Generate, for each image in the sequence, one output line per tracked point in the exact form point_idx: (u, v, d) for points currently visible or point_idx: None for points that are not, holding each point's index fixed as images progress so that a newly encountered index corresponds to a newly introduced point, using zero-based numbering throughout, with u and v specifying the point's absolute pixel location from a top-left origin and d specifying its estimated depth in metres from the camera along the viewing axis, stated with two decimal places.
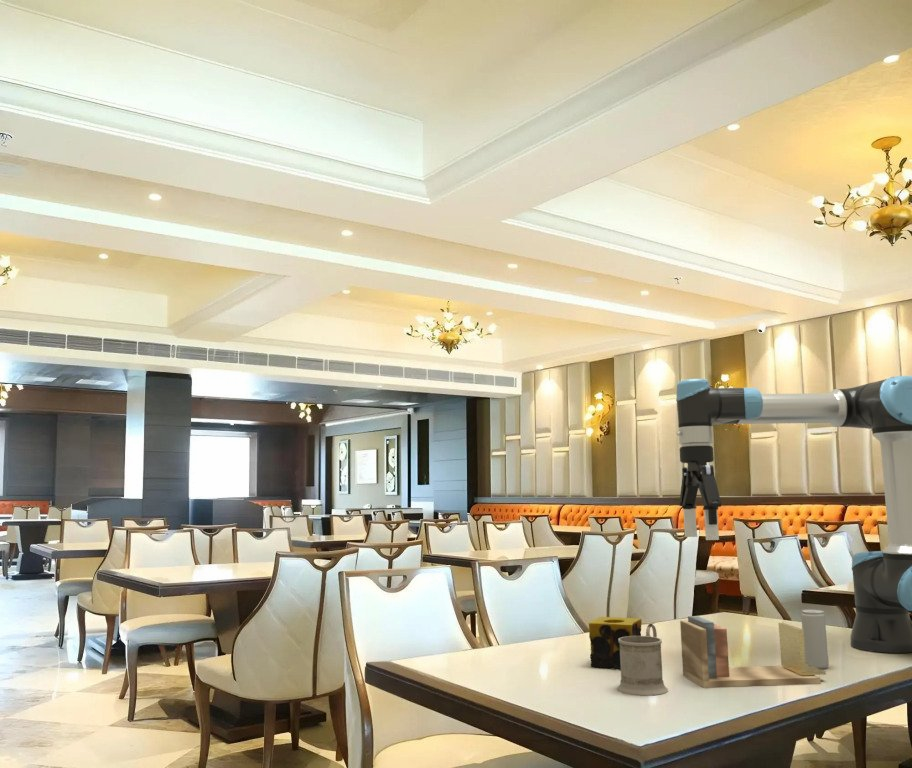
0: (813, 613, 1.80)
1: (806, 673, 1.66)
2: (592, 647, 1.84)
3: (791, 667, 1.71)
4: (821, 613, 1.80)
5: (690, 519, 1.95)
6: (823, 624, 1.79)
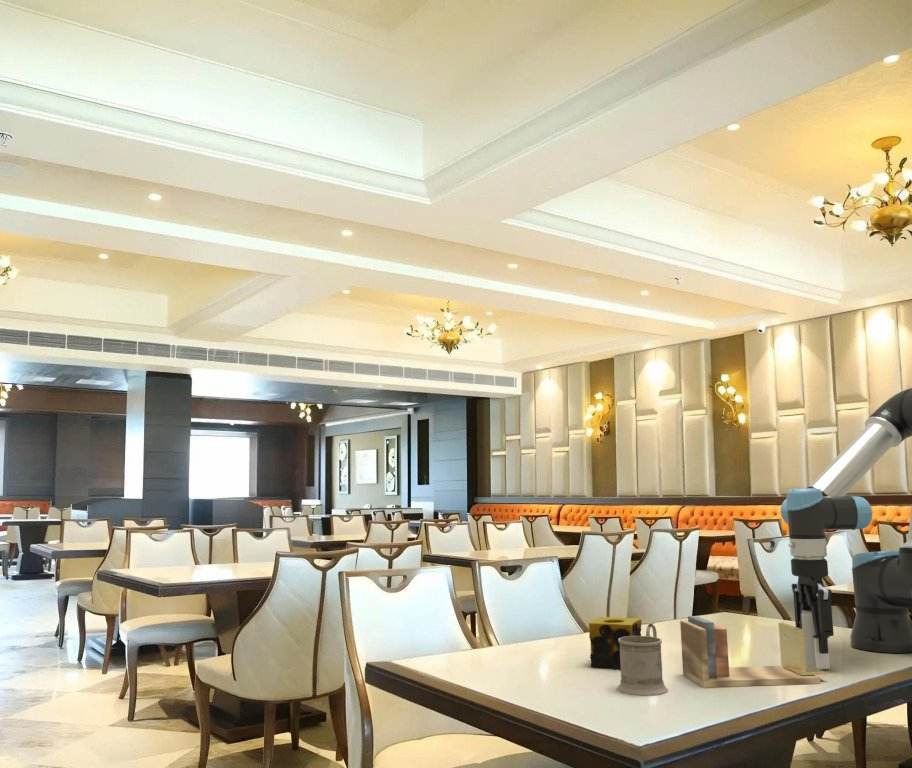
0: None
1: (806, 673, 1.66)
2: (592, 647, 1.84)
3: (791, 667, 1.71)
4: None
5: None
6: None
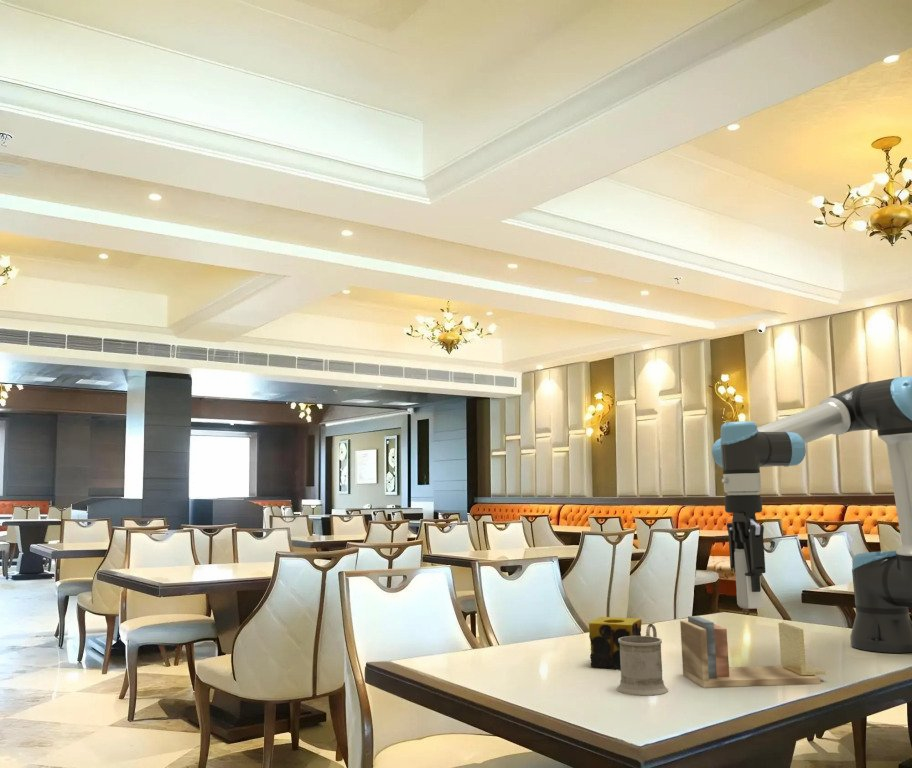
0: None
1: (806, 673, 1.66)
2: (592, 647, 1.84)
3: (791, 667, 1.71)
4: None
5: None
6: None
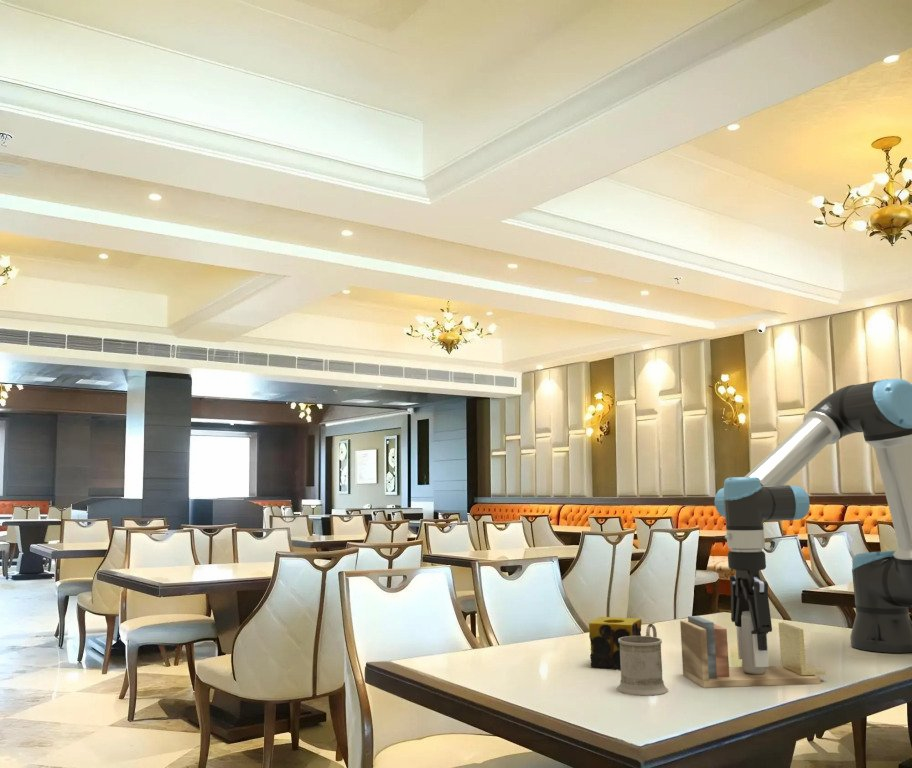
0: None
1: (806, 673, 1.66)
2: (592, 647, 1.84)
3: (791, 667, 1.71)
4: None
5: None
6: None
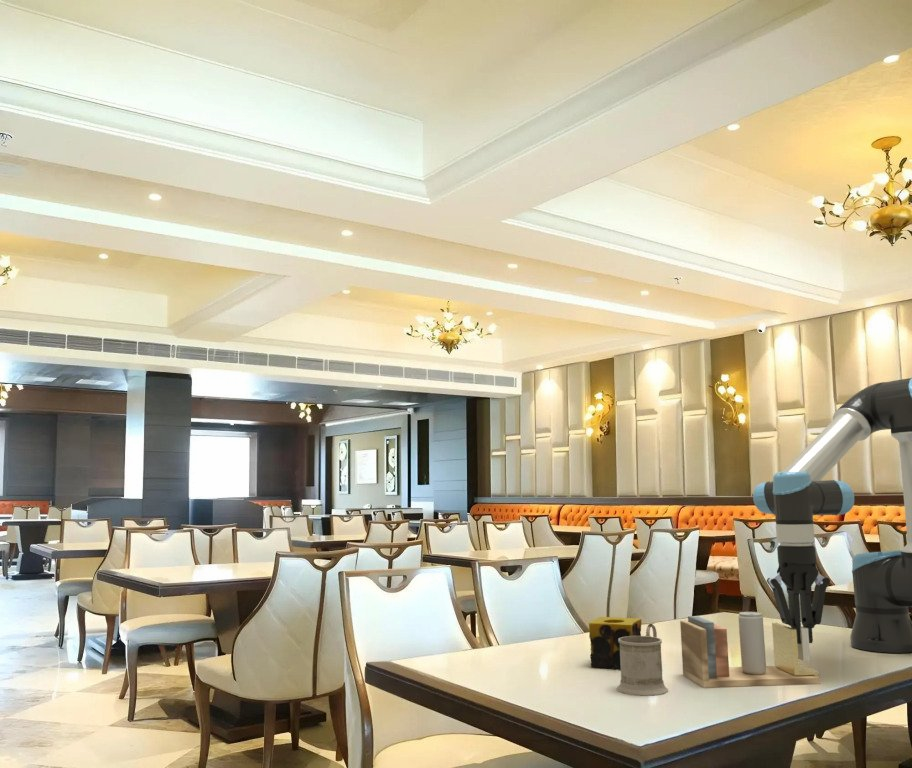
0: (750, 615, 1.70)
1: (799, 673, 1.66)
2: (592, 647, 1.84)
3: (784, 668, 1.70)
4: (759, 615, 1.70)
5: None
6: (761, 627, 1.69)
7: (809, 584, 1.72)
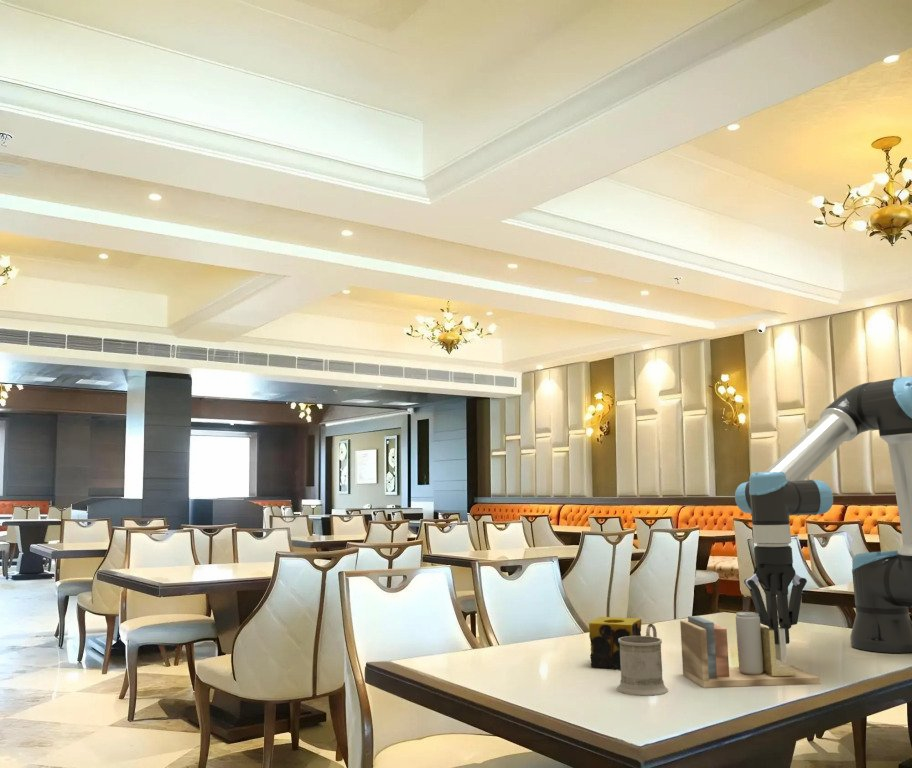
0: (747, 616, 1.70)
1: (776, 674, 1.66)
2: (592, 647, 1.84)
3: None
4: (756, 615, 1.70)
5: None
6: (758, 628, 1.69)
7: (786, 585, 1.71)
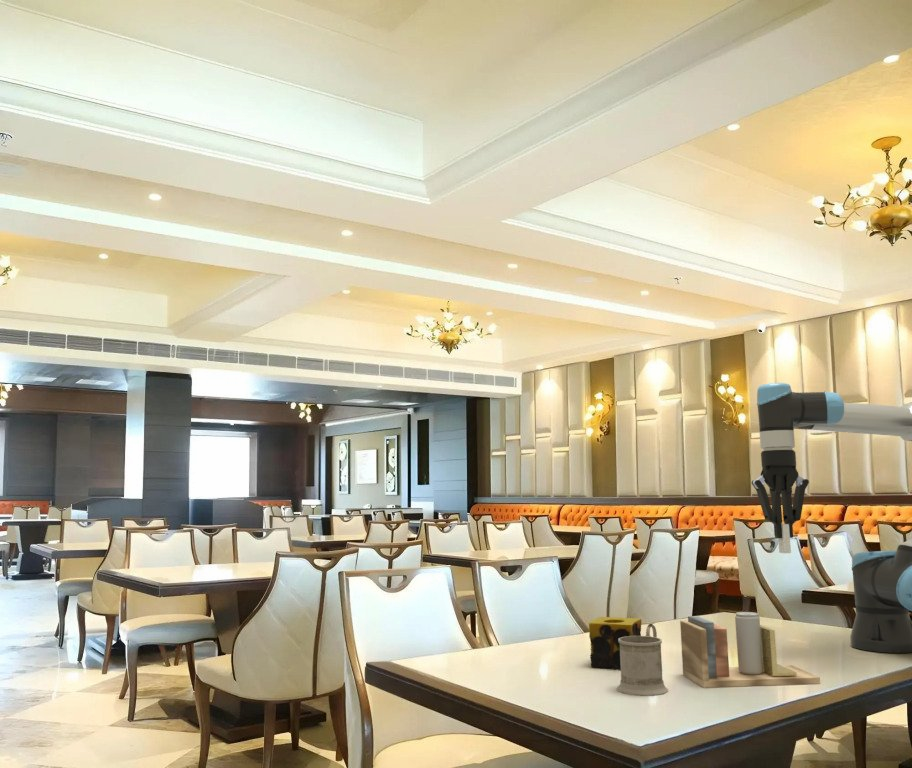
0: (747, 616, 1.70)
1: (777, 674, 1.66)
2: (592, 647, 1.84)
3: (763, 668, 1.70)
4: (755, 616, 1.70)
5: None
6: (757, 628, 1.69)
7: (790, 484, 1.89)
